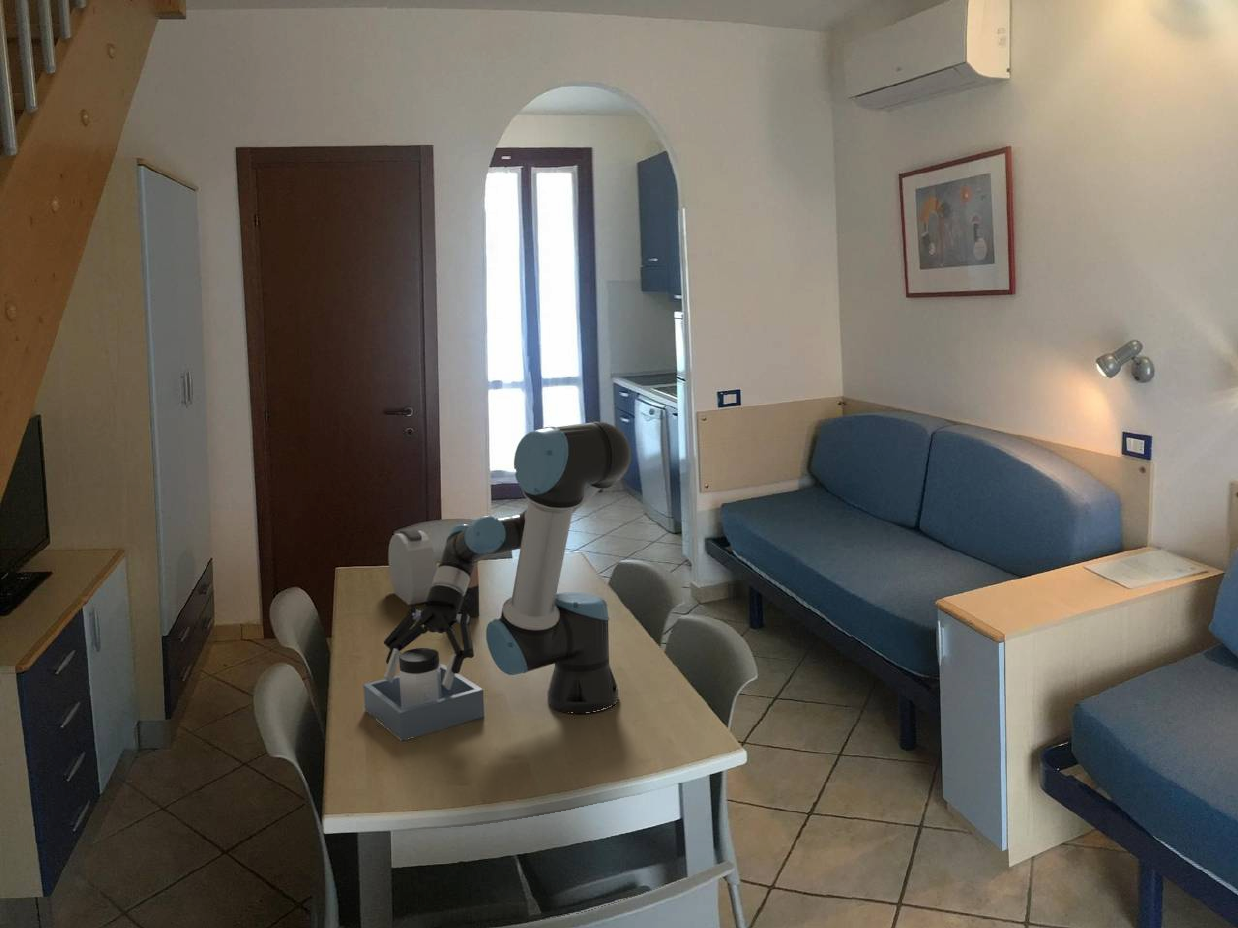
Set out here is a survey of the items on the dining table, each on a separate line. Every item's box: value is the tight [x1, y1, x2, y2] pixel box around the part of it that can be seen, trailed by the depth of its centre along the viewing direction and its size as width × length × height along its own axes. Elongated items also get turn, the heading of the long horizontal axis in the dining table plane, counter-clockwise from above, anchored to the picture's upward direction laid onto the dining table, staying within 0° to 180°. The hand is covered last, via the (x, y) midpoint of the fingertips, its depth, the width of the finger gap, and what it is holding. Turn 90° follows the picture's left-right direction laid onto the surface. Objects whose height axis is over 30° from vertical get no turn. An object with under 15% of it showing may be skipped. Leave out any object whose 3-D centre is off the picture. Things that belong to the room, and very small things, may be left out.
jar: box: [398, 647, 442, 709], centre depth 213 cm, size 9×8×12 cm
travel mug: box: [458, 562, 480, 619], centre depth 276 cm, size 8×8×20 cm
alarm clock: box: [387, 528, 438, 606], centre depth 292 cm, size 21×8×20 cm, turn 30°
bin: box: [363, 663, 485, 740], centre depth 214 cm, size 18×18×6 cm
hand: (416, 683), depth 211 cm, fingers open, 13 cm apart
